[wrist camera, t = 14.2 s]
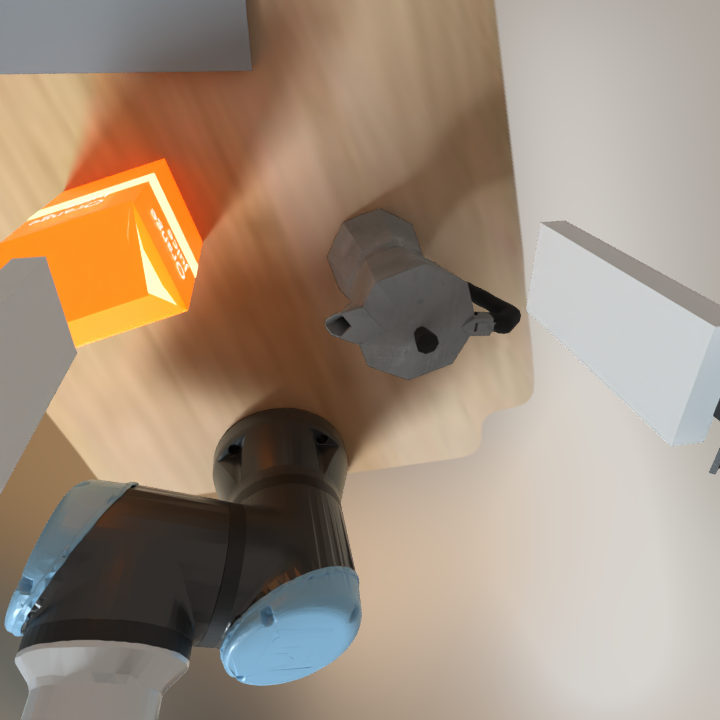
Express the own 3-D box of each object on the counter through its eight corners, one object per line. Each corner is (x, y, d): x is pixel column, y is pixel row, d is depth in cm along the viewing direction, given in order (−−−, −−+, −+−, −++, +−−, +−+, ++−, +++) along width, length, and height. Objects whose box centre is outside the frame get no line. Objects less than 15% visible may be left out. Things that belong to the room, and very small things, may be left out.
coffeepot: (304, 301, 52) (329, 406, 37) (306, 204, 48) (336, 280, 33) (452, 300, 55) (531, 397, 40) (468, 209, 51) (564, 280, 36)
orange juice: (204, 243, 48) (181, 352, 31) (110, 274, 48) (36, 401, 31) (164, 155, 44) (112, 226, 27) (61, 189, 44) (-56, 281, 27)
